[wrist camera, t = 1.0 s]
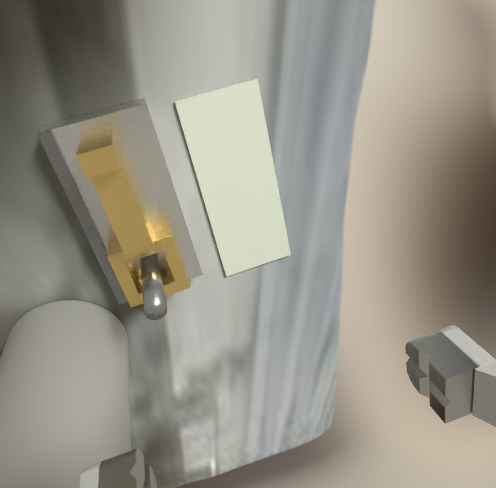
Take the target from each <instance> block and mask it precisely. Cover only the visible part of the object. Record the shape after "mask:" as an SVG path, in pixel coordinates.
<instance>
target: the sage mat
mask: <svg viewBox="0 0 496 488" xmlns="http://www.w3.org/2000/svg"><path fill="white" fill-rule="evenodd" d="M175 105H176V109H177V112H178V115H179V119H180V122H181V125H182V129H183V132H184V136H185V139H186V142H187V146H188V149H189V153H190V156H191V159H192V163H193V166H194V170H195V173H196V176H197V180H198V183H199V186H200V190H201V193H202V197H203V200H204V203H205V207H206V210H207V214H208V217H209V220H210V224H211V227H212V230H213V234H214V237H215V241H216V244H217V247H218V251H219V254H220V258H221V261H222V264H223V268H224V271H225V274H226V277H227V276H230V275H233V274H236V273H239V272H242V271H245V270H247V269H250V268H253V267H256V266H259V265H262V264H265V263H268V262H271V261H274V260H277V259H280V258H283V257H286V256H289V255H291V254H290V249H289V243H288V238H287V233H286V228H285V222H284V217H283V212H282V206H281V201H280V196H279V190H278V185H277V180H276V174H275V169H274V164H273V159H272V153H271V148H270V143H269V137H268V132H267V127H266V121H265V116H264V111H263V106H262V100H261V95H260V90H259V84H258V79H254V80H250V81H247V82H243V83H239V84H236V85H232V86H229V87H225V88H222V89H218V90H214V91H211V92H207V93H204V94H200V95H196V96H193V97H189V98H186V99H182V100H178V101H175Z"/></svg>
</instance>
